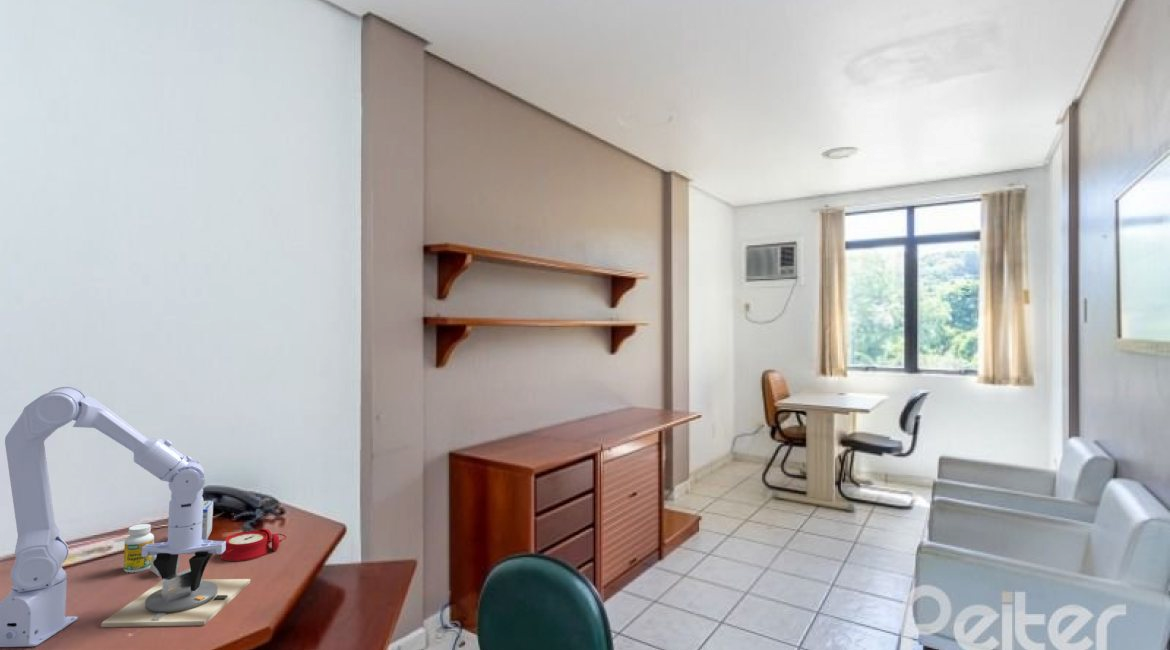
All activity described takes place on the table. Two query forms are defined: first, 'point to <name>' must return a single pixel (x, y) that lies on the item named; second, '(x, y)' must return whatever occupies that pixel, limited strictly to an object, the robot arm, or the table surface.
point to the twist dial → (180, 594)
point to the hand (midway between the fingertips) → (182, 589)
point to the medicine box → (207, 519)
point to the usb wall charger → (155, 567)
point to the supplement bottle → (137, 548)
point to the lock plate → (198, 615)
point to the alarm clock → (249, 545)
